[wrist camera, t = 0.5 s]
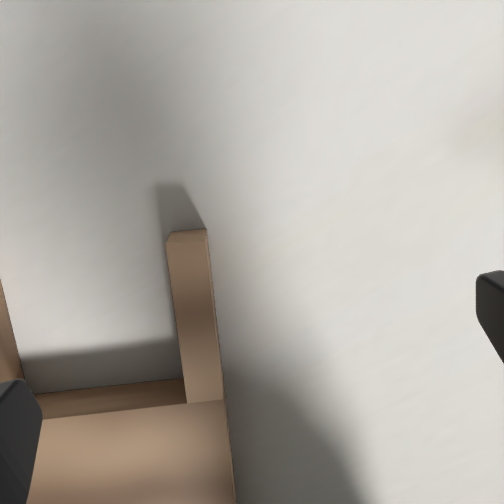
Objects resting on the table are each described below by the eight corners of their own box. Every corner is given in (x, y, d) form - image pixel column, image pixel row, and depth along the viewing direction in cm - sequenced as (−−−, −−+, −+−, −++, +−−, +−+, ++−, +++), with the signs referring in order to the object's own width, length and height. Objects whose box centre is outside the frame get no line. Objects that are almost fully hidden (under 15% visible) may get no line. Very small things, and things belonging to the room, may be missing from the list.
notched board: (241, 542, 28) (243, 579, 26) (39, 568, 27) (23, 609, 25) (206, 228, 23) (205, 240, 20) (-45, 252, 22) (-76, 267, 20)
